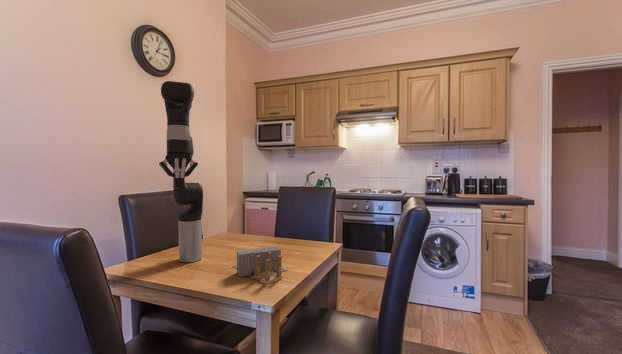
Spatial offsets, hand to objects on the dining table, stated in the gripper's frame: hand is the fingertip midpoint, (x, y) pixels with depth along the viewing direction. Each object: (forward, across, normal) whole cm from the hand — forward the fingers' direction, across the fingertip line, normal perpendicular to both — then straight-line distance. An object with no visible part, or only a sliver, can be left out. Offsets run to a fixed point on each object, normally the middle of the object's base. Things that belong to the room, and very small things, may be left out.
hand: (179, 188), depth 103 cm
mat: (+32, -27, +8) cm, 43 cm away
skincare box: (+28, -17, +9) cm, 34 cm away
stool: (+32, -24, +20) cm, 45 cm away
